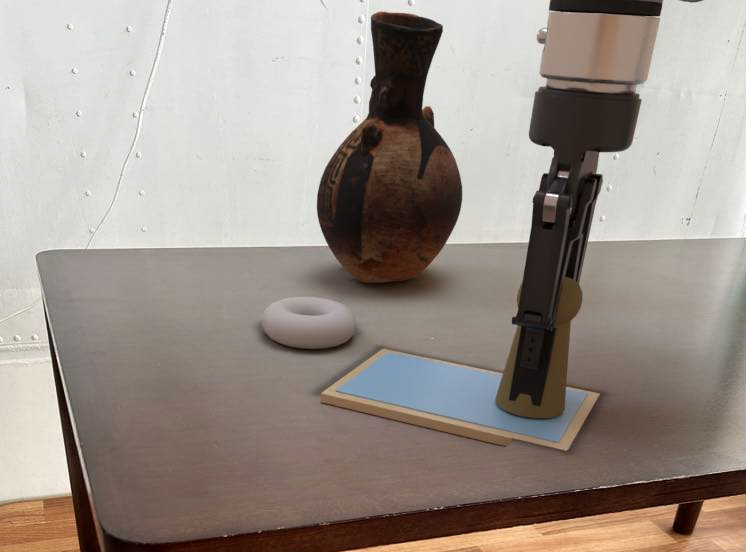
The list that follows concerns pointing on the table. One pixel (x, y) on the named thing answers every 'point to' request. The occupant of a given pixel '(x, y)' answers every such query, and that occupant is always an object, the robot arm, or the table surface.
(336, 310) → the donut
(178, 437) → the table surface
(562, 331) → the olive pawn piece
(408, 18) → the ceramic vessel
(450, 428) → the tablet
